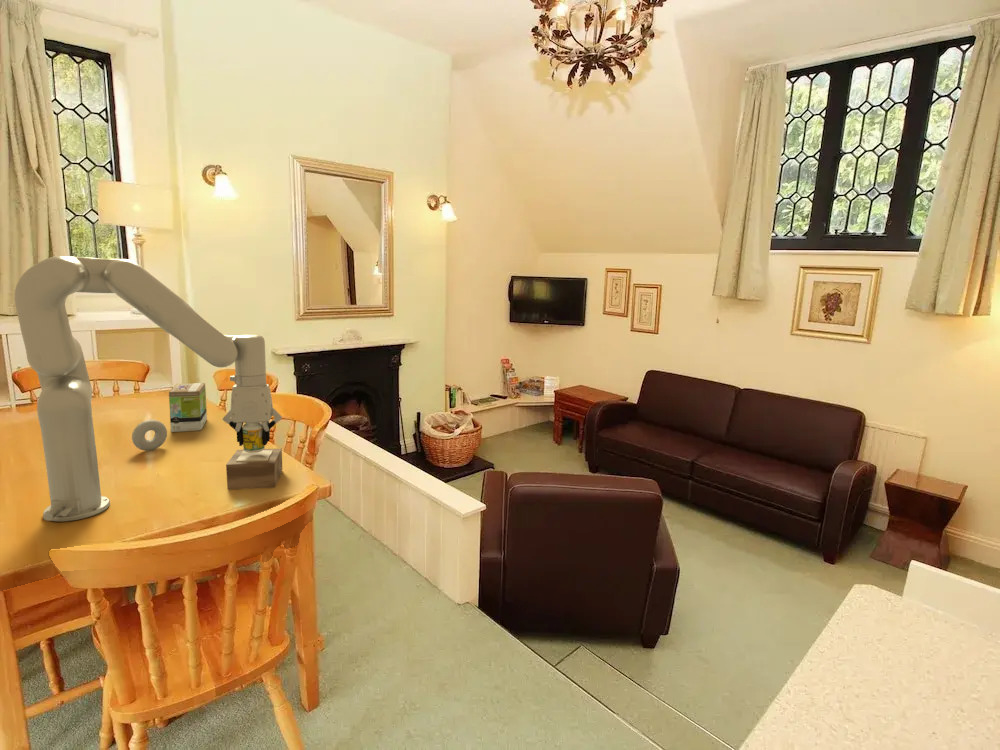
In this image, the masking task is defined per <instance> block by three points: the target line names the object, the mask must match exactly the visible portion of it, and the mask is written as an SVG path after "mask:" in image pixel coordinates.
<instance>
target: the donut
mask: <svg viewBox="0 0 1000 750" xmlns="http://www.w3.org/2000/svg"><path fill="white" fill-rule="evenodd" d="M132 431H133V432H132V433H131V440H132V443H133V445H134V446H135V447H136V448H137V449H139V450H141V451H146V452H147V451H148V452H149V451H153V450H157V449H159V448H160V447H161V446H162V445H163V444H164V443H165V442H166V439H167V437H168V429H167V427H166V425H165V424H164V423H163V422H162V421H159V420H157V419H147V420H144V421H142V422H140V423H139V424H137V426H135V428H134V429H133V430H132ZM149 431H152V432H154V437H152V438H151V439H146V436H145V435H146V434H147V432H149Z"/></svg>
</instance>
